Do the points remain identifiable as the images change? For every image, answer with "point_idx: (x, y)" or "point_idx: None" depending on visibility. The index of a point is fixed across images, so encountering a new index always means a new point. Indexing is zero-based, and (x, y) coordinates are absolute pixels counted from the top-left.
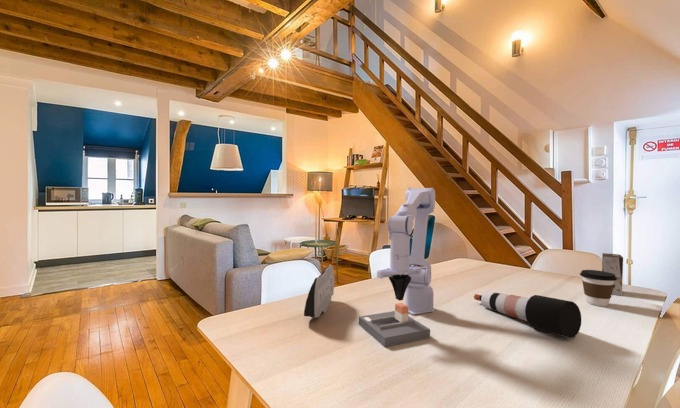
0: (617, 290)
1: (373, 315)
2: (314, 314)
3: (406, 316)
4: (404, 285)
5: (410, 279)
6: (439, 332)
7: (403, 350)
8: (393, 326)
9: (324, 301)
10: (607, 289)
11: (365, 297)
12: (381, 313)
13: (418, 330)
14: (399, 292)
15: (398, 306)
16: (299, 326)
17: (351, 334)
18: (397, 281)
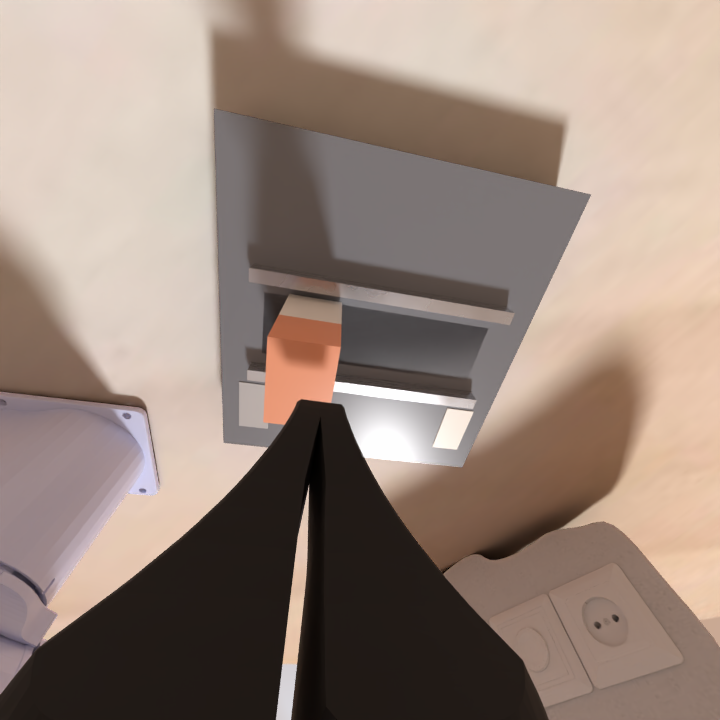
0: None
1: (393, 449)
2: (621, 535)
3: (300, 308)
4: (278, 538)
5: (34, 699)
6: (116, 149)
7: (512, 85)
8: (418, 292)
9: (491, 600)
10: None
11: None
12: None
13: (315, 147)
14: (363, 460)
15: (333, 386)
16: (624, 508)
17: (550, 384)
18: (527, 678)
